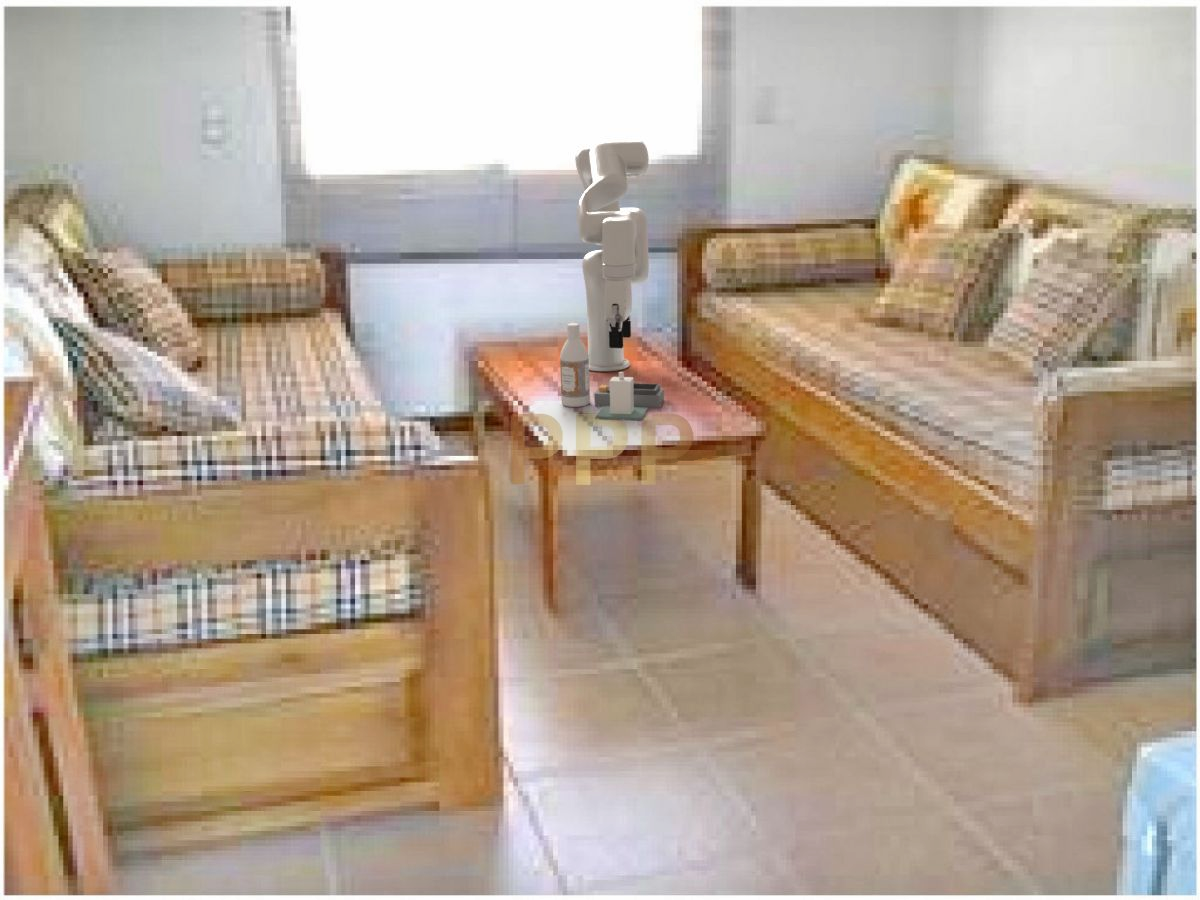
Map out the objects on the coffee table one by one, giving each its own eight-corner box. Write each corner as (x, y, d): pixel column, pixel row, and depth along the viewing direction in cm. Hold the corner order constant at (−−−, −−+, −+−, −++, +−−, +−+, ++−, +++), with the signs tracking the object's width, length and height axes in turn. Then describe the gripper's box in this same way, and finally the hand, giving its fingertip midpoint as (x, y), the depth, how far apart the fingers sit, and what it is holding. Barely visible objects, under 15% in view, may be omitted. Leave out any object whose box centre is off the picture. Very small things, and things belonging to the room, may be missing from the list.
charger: (613, 408, 332) (612, 370, 329) (633, 409, 331) (633, 370, 328) (610, 413, 328) (609, 374, 326) (630, 414, 327) (630, 375, 325)
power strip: (600, 397, 344) (600, 381, 343) (664, 399, 341) (663, 383, 340) (594, 405, 338) (594, 389, 336) (659, 407, 334) (659, 390, 333)
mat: (603, 408, 335) (603, 405, 335) (647, 409, 333) (647, 407, 333) (595, 418, 327) (595, 416, 327) (641, 420, 325) (641, 417, 324)
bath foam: (556, 405, 339) (553, 325, 333) (572, 398, 344) (569, 320, 338) (579, 409, 335) (576, 328, 329) (595, 402, 341) (593, 322, 334)
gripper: (610, 262, 328) (611, 332, 334) (595, 278, 312) (597, 351, 318) (641, 263, 327) (642, 333, 332) (627, 279, 311) (629, 352, 317)
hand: (620, 342), depth 325 cm, fingers open, 9 cm apart
